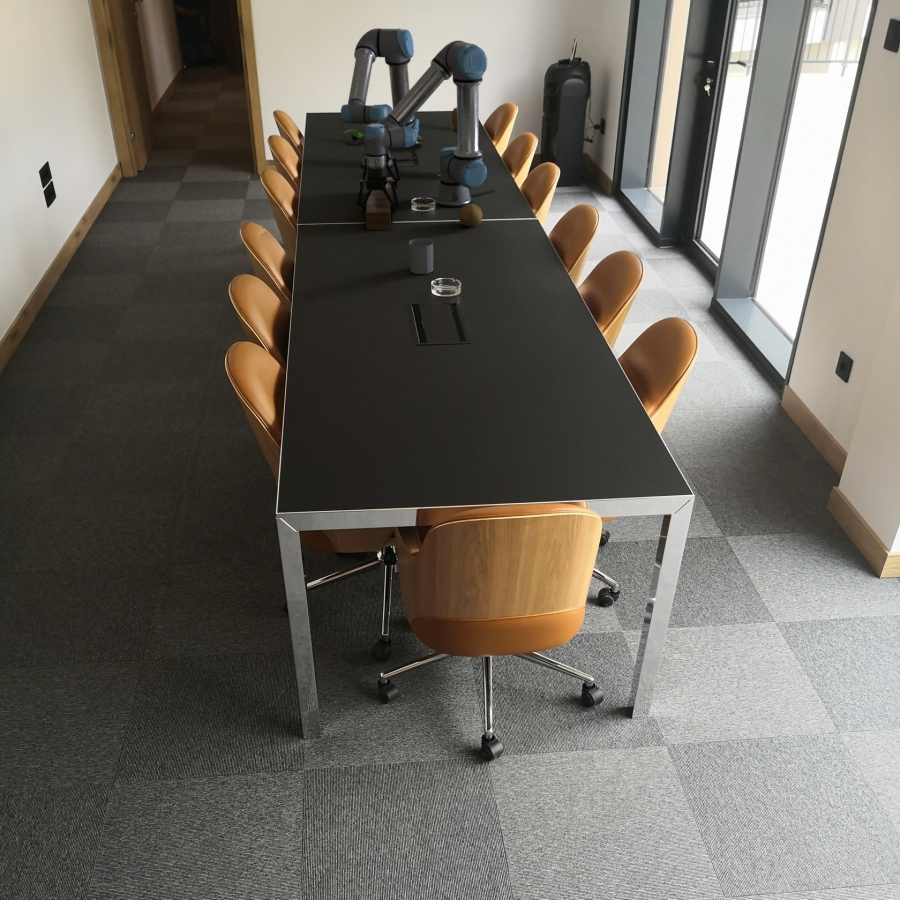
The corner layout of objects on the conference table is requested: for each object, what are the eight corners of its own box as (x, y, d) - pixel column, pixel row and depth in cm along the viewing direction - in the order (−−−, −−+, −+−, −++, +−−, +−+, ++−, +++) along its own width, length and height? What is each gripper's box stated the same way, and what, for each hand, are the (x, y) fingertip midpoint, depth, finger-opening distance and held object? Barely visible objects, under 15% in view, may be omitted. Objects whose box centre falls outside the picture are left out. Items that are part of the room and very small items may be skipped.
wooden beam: (372, 192, 388) (371, 177, 385) (393, 192, 388) (393, 176, 385) (366, 229, 345) (365, 212, 341) (390, 229, 345) (389, 212, 342)
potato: (480, 219, 356) (481, 200, 351) (484, 230, 344) (484, 210, 340) (457, 220, 355) (457, 200, 351) (459, 231, 343) (459, 211, 339)
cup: (409, 265, 311) (408, 238, 306) (432, 265, 312) (431, 238, 307) (410, 274, 304) (409, 246, 299) (433, 273, 305) (433, 246, 299)
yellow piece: (471, 132, 486) (471, 108, 479) (451, 132, 486) (451, 108, 479) (470, 128, 495) (471, 104, 488) (452, 128, 495) (452, 104, 488)
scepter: (397, 126, 468) (342, 124, 466) (397, 141, 461) (341, 139, 459) (397, 135, 473) (342, 133, 471) (397, 150, 466) (341, 148, 463)
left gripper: (353, 146, 366) (356, 199, 378) (405, 146, 367) (407, 198, 379) (354, 142, 372) (357, 194, 384) (406, 141, 373) (407, 193, 385)
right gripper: (347, 169, 336) (351, 225, 348) (404, 168, 337) (406, 224, 349) (348, 163, 342) (352, 219, 354) (404, 163, 343) (406, 219, 355)
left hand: (382, 196), depth 382 cm, fingers closed on wooden beam, 10 cm apart
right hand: (379, 222), depth 352 cm, fingers closed on wooden beam, 10 cm apart
